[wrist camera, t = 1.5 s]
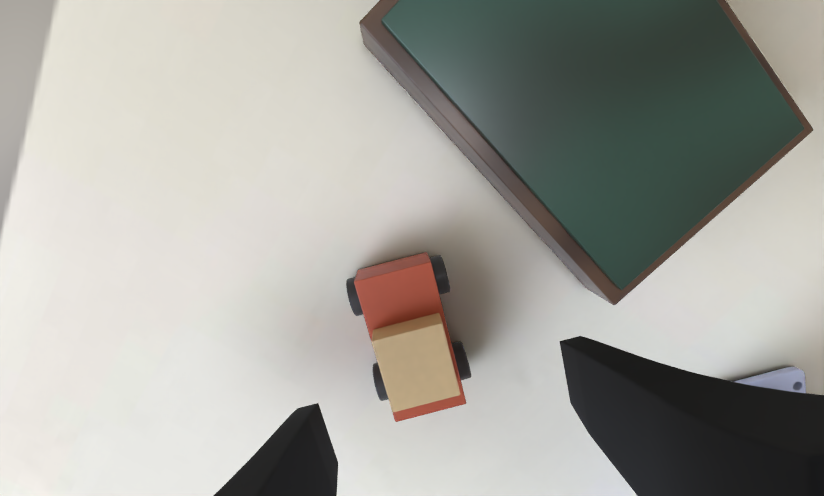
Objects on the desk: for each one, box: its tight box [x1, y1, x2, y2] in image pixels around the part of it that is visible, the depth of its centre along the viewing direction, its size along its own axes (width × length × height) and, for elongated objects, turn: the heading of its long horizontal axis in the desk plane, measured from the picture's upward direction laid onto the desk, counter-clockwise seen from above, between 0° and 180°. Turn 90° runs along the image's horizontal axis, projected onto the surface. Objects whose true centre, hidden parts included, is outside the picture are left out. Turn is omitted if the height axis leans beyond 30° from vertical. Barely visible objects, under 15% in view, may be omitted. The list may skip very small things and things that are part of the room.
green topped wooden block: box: [359, 0, 813, 305], centre depth 17 cm, size 16×11×3 cm
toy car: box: [346, 252, 471, 422], centre depth 18 cm, size 7×5×4 cm, turn 14°
